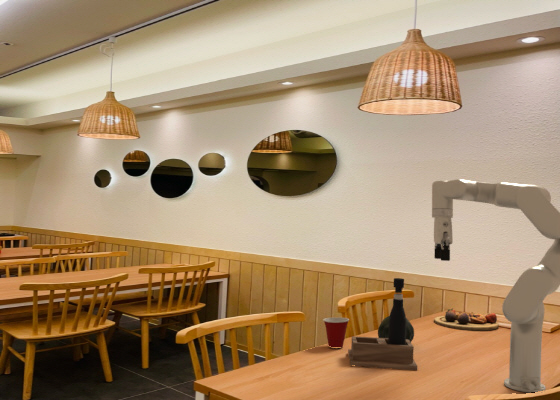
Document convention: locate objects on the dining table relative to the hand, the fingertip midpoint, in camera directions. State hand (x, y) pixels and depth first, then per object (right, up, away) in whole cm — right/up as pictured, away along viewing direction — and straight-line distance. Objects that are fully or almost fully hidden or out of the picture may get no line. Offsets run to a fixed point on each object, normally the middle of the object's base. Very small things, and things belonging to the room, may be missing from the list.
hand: (441, 259), depth 198 cm
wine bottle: (-16, -38, +3) cm, 41 cm away
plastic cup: (-38, -39, +22) cm, 58 cm away
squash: (-11, -40, +28) cm, 51 cm away
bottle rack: (-22, -39, +3) cm, 45 cm away
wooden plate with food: (+37, -44, +80) cm, 98 cm away
